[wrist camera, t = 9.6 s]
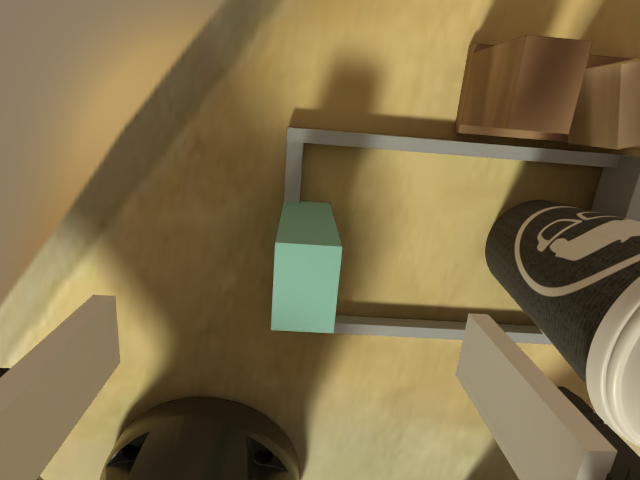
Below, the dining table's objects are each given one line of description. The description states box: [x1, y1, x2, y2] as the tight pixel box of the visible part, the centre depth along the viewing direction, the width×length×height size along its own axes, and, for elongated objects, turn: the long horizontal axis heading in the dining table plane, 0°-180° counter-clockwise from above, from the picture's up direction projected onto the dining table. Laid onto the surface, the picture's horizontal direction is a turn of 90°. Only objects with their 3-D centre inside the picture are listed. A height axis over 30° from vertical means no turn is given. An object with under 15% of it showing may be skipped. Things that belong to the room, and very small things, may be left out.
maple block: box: [568, 58, 640, 150], centre depth 23 cm, size 4×4×4 cm
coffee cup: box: [485, 200, 640, 447], centre depth 21 cm, size 10×10×15 cm
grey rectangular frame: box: [271, 127, 640, 345], centre depth 24 cm, size 22×14×9 cm, turn 85°
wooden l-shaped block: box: [454, 35, 640, 148], centre depth 22 cm, size 15×5×7 cm, turn 85°
